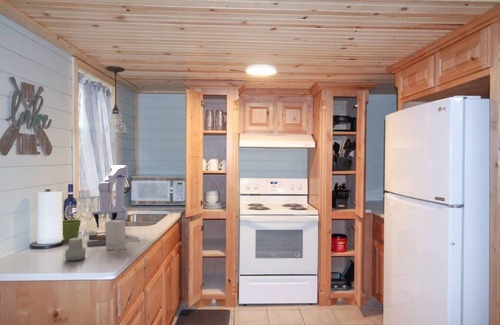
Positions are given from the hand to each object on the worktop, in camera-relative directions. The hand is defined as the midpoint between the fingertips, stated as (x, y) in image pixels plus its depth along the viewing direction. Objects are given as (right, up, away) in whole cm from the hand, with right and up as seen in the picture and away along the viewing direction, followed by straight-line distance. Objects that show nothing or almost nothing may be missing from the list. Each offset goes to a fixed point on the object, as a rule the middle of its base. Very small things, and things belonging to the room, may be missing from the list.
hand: (105, 226), depth 208 cm
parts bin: (-4, -10, +5) cm, 12 cm away
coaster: (+10, -10, +11) cm, 18 cm away
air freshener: (-3, -11, -30) cm, 32 cm away
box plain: (-6, -9, +8) cm, 14 cm away
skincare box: (+10, -11, -11) cm, 18 cm away
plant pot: (-24, -10, +9) cm, 27 cm away
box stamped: (-2, -9, +1) cm, 10 cm away
